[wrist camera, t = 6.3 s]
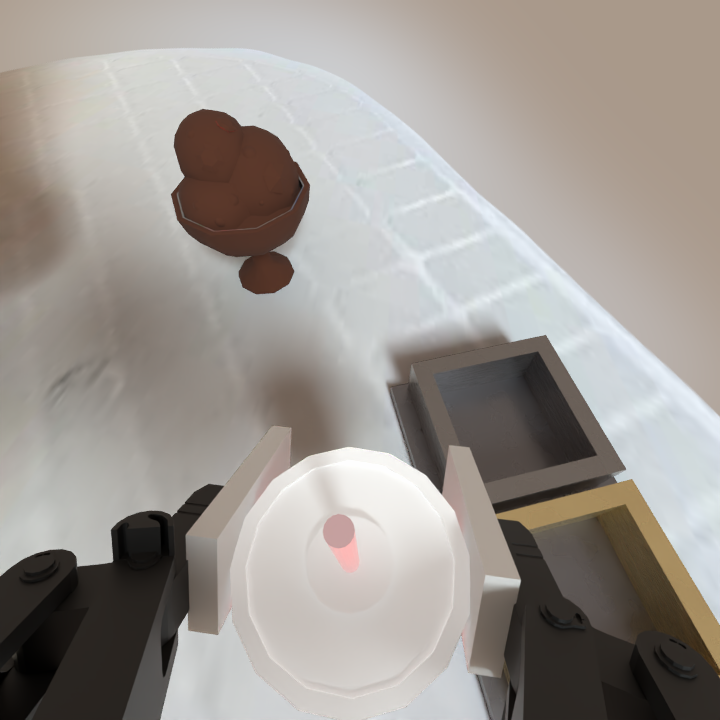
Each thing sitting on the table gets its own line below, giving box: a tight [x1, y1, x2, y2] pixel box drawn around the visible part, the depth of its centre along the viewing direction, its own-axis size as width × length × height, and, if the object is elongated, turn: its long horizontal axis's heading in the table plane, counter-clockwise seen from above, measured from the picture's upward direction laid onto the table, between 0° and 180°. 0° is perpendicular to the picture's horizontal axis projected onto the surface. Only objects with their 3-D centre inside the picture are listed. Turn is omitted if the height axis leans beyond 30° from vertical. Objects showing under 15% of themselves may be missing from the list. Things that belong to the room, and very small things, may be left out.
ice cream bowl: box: [171, 109, 310, 294], centre depth 34 cm, size 11×11×15 cm
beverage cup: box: [230, 447, 470, 720], centre depth 12 cm, size 6×6×14 cm
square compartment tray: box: [391, 335, 720, 720], centre depth 25 cm, size 22×13×4 cm, turn 13°
